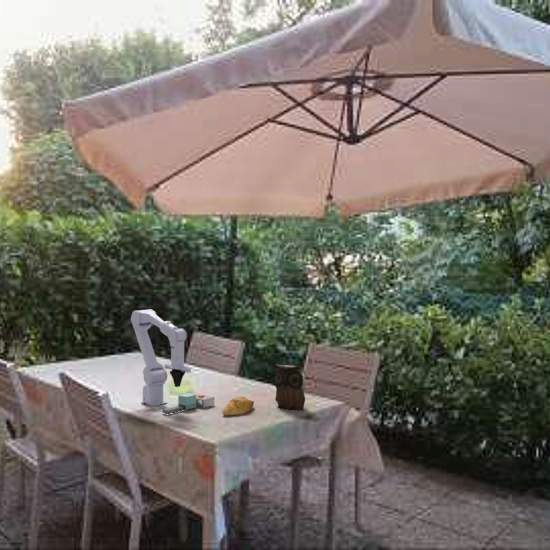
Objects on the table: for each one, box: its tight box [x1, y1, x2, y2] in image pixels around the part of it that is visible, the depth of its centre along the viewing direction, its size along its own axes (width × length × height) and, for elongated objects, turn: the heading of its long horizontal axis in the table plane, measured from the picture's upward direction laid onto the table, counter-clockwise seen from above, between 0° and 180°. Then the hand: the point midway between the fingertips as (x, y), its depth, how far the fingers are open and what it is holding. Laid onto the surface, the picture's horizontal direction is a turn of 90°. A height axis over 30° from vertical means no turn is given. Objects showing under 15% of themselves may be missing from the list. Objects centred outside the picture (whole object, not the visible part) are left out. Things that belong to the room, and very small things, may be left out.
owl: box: [274, 363, 306, 411], centre depth 325 cm, size 13×13×20 cm
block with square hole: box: [195, 393, 215, 409], centre depth 328 cm, size 10×7×4 cm
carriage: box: [177, 392, 196, 411], centre depth 321 cm, size 5×6×6 cm
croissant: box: [221, 396, 255, 416], centre depth 318 cm, size 21×10×8 cm, turn 146°
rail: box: [162, 403, 199, 415], centre depth 318 cm, size 3×19×2 cm, turn 142°
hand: (177, 386), depth 320 cm, fingers closed
